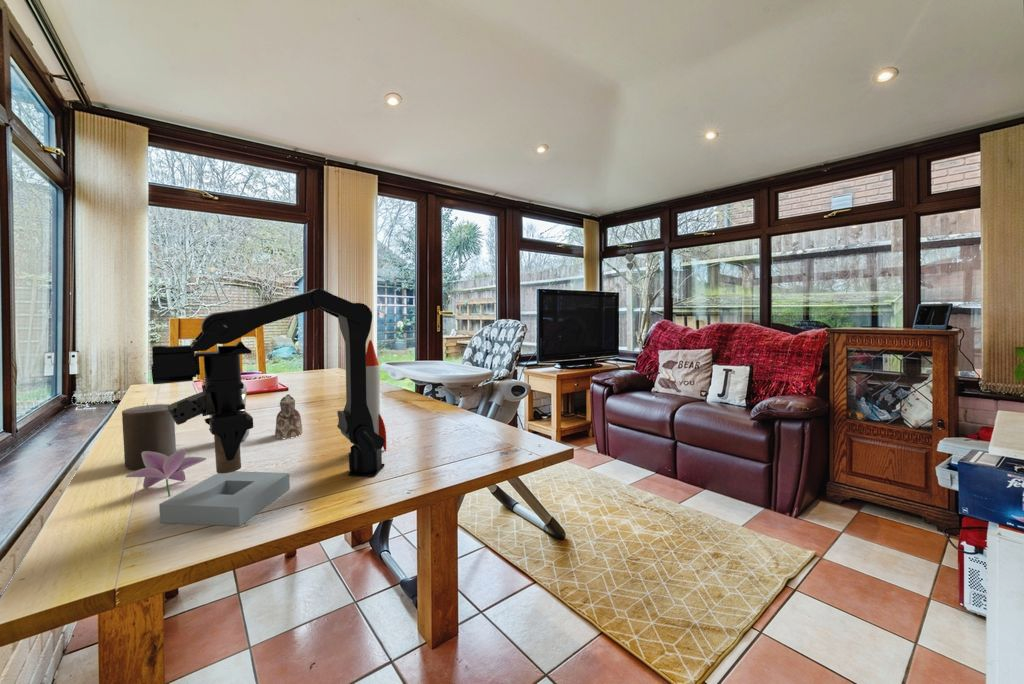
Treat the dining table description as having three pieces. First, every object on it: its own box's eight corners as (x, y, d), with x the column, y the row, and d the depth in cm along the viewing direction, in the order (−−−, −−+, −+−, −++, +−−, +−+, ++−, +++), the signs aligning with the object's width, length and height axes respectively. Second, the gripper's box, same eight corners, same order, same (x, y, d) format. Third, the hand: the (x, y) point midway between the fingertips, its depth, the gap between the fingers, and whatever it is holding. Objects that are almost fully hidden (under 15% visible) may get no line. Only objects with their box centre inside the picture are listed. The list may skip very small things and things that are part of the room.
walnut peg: (245, 465, 83) (243, 421, 83) (231, 473, 79) (228, 427, 79) (226, 464, 84) (224, 421, 83) (211, 473, 80) (208, 427, 79)
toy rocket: (379, 445, 117) (377, 338, 114) (387, 450, 113) (384, 340, 110) (359, 449, 113) (356, 339, 111) (366, 455, 109) (363, 341, 106)
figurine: (272, 439, 120) (270, 399, 119) (279, 432, 127) (277, 393, 126) (299, 437, 122) (297, 397, 121) (304, 430, 129) (303, 392, 128)
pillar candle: (147, 471, 97) (143, 408, 96) (114, 467, 99) (110, 406, 98) (186, 457, 107) (183, 399, 106) (156, 454, 109) (152, 397, 108)
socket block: (289, 488, 89) (289, 473, 89) (239, 526, 74) (238, 507, 74) (223, 486, 90) (222, 470, 90) (160, 522, 75) (159, 504, 75)
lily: (216, 484, 94) (207, 443, 96) (187, 485, 83) (177, 439, 85) (156, 507, 90) (147, 465, 93) (117, 511, 79) (108, 463, 82)
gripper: (167, 376, 81) (172, 453, 83) (171, 392, 68) (178, 484, 69) (234, 370, 89) (238, 441, 90) (251, 383, 75) (256, 467, 76)
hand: (228, 456), depth 81 cm, fingers closed on walnut peg, 4 cm apart
